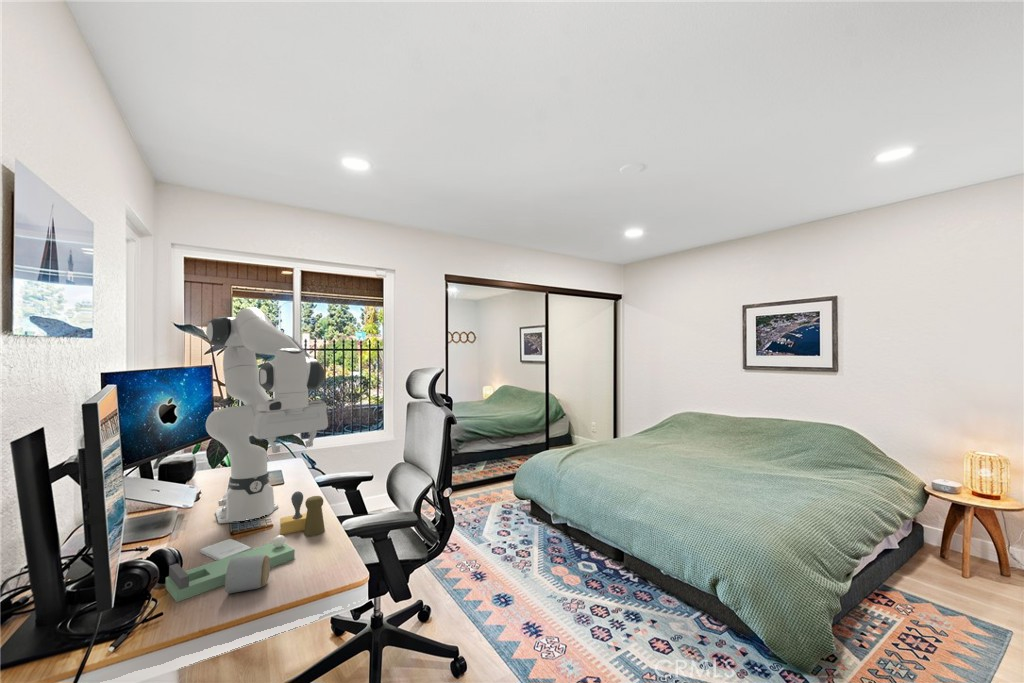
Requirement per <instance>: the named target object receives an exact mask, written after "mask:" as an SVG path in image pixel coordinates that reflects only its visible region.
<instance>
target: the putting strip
mask: <svg viewBox="0 0 1024 683" xmlns="http://www.w3.org/2000/svg"><path fill="white" fill-rule="evenodd" d="M295 551H296V550H295V548H293V547H292V546H290V545H288V544H286V543H285V544H284V545H283V546H282V547H280V548H276V547H274V546H273V541H272V542H270V543H265V544H263V545H261V546H260V545H259V546H258V547H254V548H252V549H251V550H248V551H245V552H242V553H239V554H236V555H233V556H230V557H226V558H223V559H220V560H215V561H211V562H209V563H208V562H207V563H206V564H202V565H200V566H197V567H194V568H190V569H187V570H184V568H183V567H181V565H180V564H179V563H174V564H171V565H169V568H168V569H169V570H168V571H169V572H168V574H169V575H168V576H166V577H165V589H166V590H167V592H168V593H169V594H170V596H171V597H172V599H173V600H174V602H176V603H179V602H181V601H184V600H186V599H189V598H191V597H194V596H197V595H199V594H200V595H201V594H203V593H206V592H208V591H210V590H213V589H216V588H219V587H221V586H225V578H226V572H227V567H228V564H229V562H230V560H231V558H233V557H241V556H255V555H267V556H269V558H270V569H271V568H273V567H276V566H279V565H281V564H285V563H286V562H289V561H292V560H295V559H296V558H295V554H296V553H295Z"/></svg>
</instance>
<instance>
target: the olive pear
mask: <svg viewBox="0 0 1024 683" xmlns="http://www.w3.org/2000/svg"><path fill="white" fill-rule="evenodd" d="M304 505H305V508H306V509H307V510H306V513H307V515H306V522H305V529H304V530H303V531H304V532H303V535H304V536H306V537H314V536H318V535H321V534H323V533H324V532H326V530H325V521H324V516H323V514H324V513H323V508H322V506H323V505H324V498H323V497H322V496H320V495H314V496H309V497H307V499H306V500H305V504H304Z"/></svg>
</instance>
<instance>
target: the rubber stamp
mask: <svg viewBox="0 0 1024 683" xmlns="http://www.w3.org/2000/svg"><path fill="white" fill-rule="evenodd" d="M290 499H291V500H290V501H291V504H292V505H293V508H294V511H295V513H294V515H289V516H284V517H281V518H279V520H280V522H279V524H280V526H279V531H280V534H279V535H283V536H284V535H286V534H293V533H296V532H301V531H302V532H303V531H304V529H305V522H306V515H307V512H305V513H301V512H300V510H301V507H302V504H303V501H304V494H303V493H302V492H301V491H295V492H294V493H293V494H292V495H291V498H290Z"/></svg>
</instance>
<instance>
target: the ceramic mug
mask: <svg viewBox="0 0 1024 683" xmlns="http://www.w3.org/2000/svg"><path fill="white" fill-rule="evenodd" d="M270 572H271V568H270V558H269V556H267V555H255V556H241V557H233V558H231V560H230V562H229V564H228V567H227V572H226V578H225V585H224V590H225V592H226V594H233V593H239V592H246V591H252V590H257V589H261V588H264V587H265V586H266V585H267V583H268V581H269V577H270Z"/></svg>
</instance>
